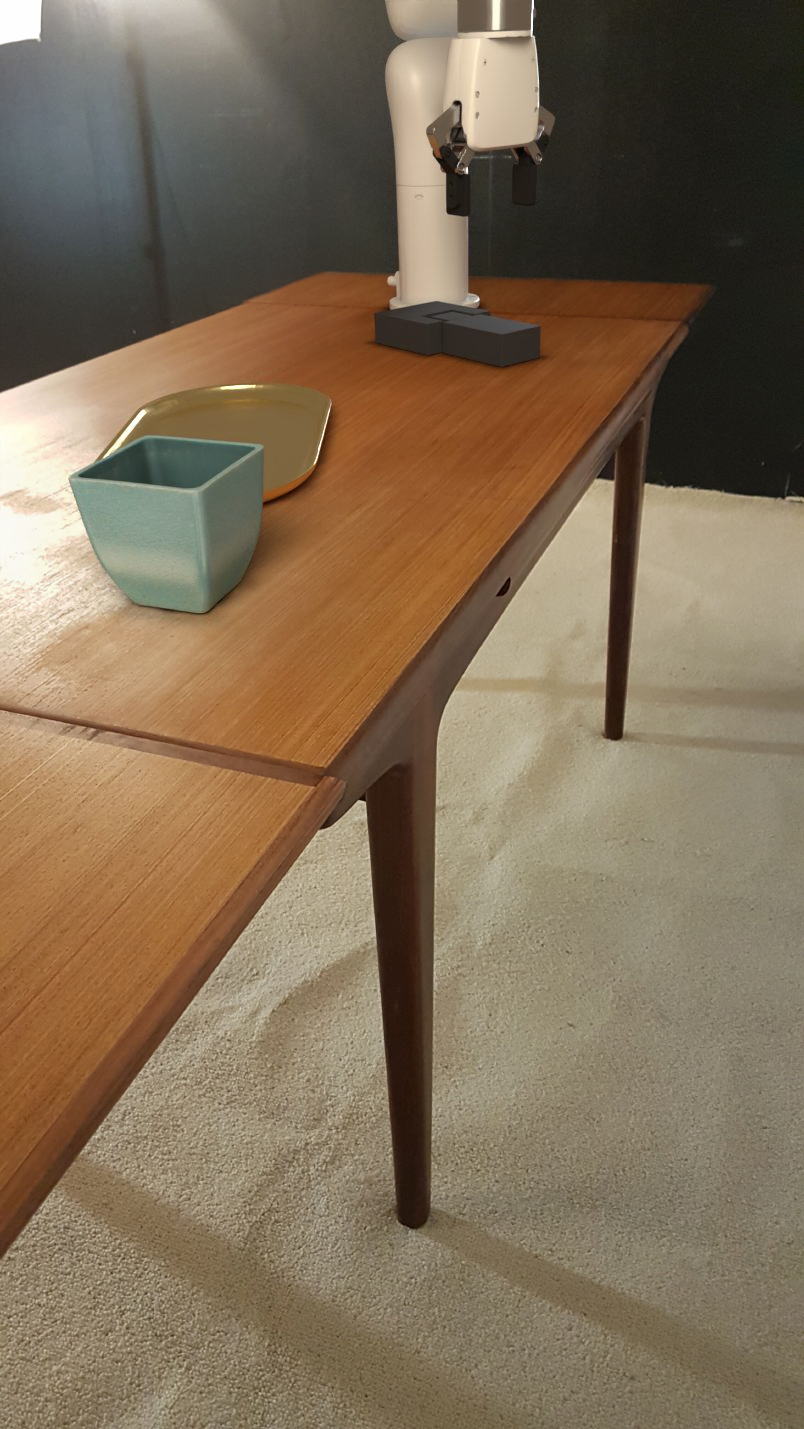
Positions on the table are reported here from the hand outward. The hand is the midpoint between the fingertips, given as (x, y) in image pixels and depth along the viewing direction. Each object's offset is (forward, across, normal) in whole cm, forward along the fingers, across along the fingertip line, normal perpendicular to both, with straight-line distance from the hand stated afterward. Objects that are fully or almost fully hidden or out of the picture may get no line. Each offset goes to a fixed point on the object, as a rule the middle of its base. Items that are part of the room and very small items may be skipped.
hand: (491, 209), depth 112 cm
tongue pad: (+15, +1, 0) cm, 15 cm away
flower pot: (+14, +59, +35) cm, 70 cm away
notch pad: (+15, +1, -9) cm, 18 cm away
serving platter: (+14, +42, +10) cm, 45 cm away
